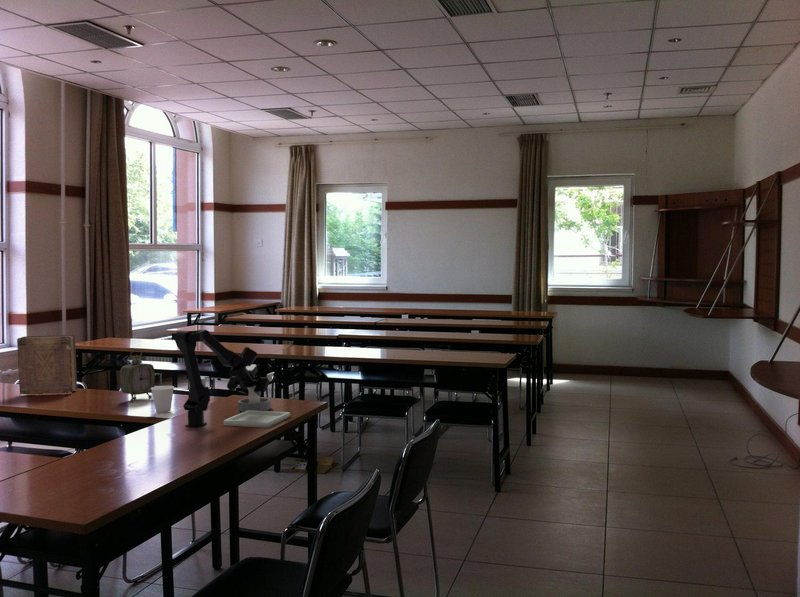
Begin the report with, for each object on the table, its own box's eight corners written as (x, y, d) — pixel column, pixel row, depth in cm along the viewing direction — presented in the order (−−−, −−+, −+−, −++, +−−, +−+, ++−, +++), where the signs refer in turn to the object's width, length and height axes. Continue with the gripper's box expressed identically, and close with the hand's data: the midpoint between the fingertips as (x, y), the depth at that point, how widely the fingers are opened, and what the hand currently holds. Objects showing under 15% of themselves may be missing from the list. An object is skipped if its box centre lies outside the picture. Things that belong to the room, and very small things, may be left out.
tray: (267, 427, 280) (267, 422, 279) (223, 425, 285) (223, 420, 285) (290, 417, 299) (290, 412, 299) (248, 414, 305) (248, 410, 304)
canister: (256, 410, 313) (256, 384, 312) (246, 410, 314) (245, 383, 314) (262, 408, 318) (261, 382, 317) (252, 407, 319) (251, 381, 319)
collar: (261, 413, 307) (260, 404, 307) (232, 411, 311) (232, 402, 311) (275, 406, 321) (275, 398, 320) (248, 405, 325) (248, 397, 324)
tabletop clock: (131, 403, 334) (129, 351, 333) (118, 401, 339) (116, 350, 337) (155, 398, 347) (153, 348, 345) (143, 396, 351) (141, 347, 350)
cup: (167, 414, 308) (166, 389, 307) (147, 413, 310) (146, 389, 309) (179, 409, 318) (178, 385, 317) (159, 409, 320) (158, 385, 319)
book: (77, 391, 370) (75, 334, 369) (72, 394, 361) (70, 336, 360) (25, 393, 366) (23, 336, 364) (19, 396, 357) (16, 338, 355)
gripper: (267, 359, 308) (279, 380, 319) (229, 358, 313) (242, 379, 324) (258, 380, 301) (271, 401, 312) (220, 379, 306) (234, 399, 317)
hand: (255, 394), depth 316 cm, fingers closed on canister, 5 cm apart
